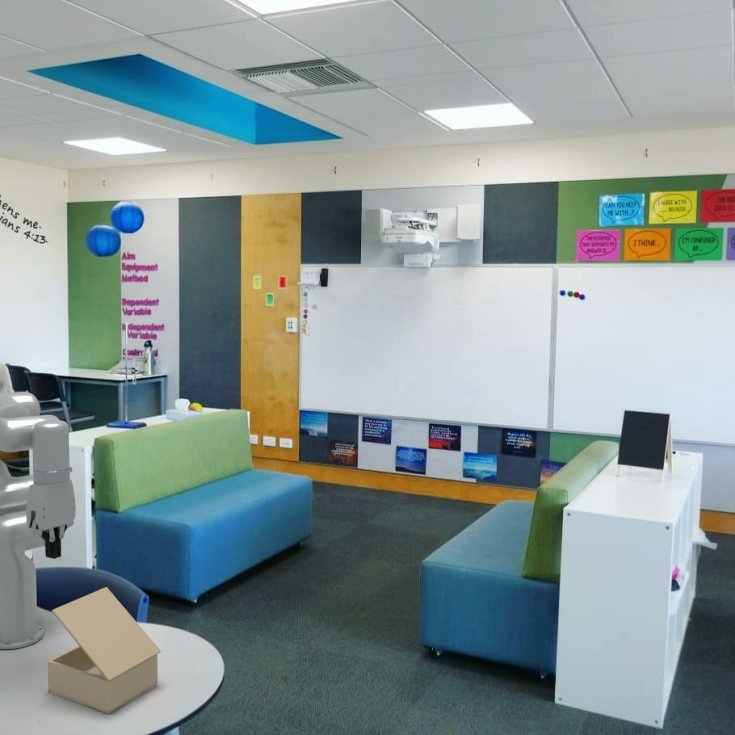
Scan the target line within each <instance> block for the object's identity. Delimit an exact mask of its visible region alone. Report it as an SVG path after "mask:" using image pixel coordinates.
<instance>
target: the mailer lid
mask: <svg viewBox="0 0 735 735" xmlns="http://www.w3.org/2000/svg"><path fill="white" fill-rule="evenodd" d="M51 613H52V614H53V615H54V617H56V619H57V620H58V621H59V622H60V624H61V625H62V626H63V628H64V629H65V630H66V631H67V632H68V634H69V635H70V636H71V637H72V639H73V640H74V642H76V643H77V645H78V646H80V647H81V649H82V650H83V651H84V652H85V654H86V655H87V656H88V657H89V659H90V660H91V661H92V662H93V663H94V665H95V666H96V667H97V668H98V670H99V671H100V672H101V673H102V675H103V676H104V677H105V678H106V680H107V681H108V682H109V681H111V680H113V679H114V678H116V677H118V676H120V675H121V674H123V673H125V672H127V671H128V670H130V669H132V668H134V667H135V666H137V665H139V664H141V663H142V662H144V661H146V660H148V659H149V658H151V657H153V656H155V655H157V656H158V654H160V653H161V651H162V650H161V649H160V648H159V647H158V645H157V644H156V643H155V642H154V641H153V640H152V639H151V637H150V635H148V634H147V633H146V632H145V630H144V629H143V628H142V627H141V625H140V624H139V623H138V622H137V621H136V620H135V619H134V617H133V616H132V615H131V614H130V613H129V612H128V610H127V609H126V608H125V607H124V606H123V605H122V603H121V602H120V601H119V600H118V599H117V598H116V596H115V595H114V594H113V592H112V591H111V590H110V589H109V588H108V586H107V587H103V588H101V589H98V590H96V591H93V592H92V593H89V594H87V595H85V596H82V597H80V598H77V599H75V600H72V601H70V602H68V603H66V604H63V605H61V606H58V607H56V608H54V609H52V610H51Z"/></svg>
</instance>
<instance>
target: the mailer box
mask: <svg viewBox="0 0 735 735" xmlns="http://www.w3.org/2000/svg"><path fill="white" fill-rule="evenodd" d="M158 677H159V676H158V654H157V655H155V656H153V657H151V658H149V659H148V660H146V661H144V662H142V663H141V664H139V665H137V666H135V667H134V668H132V669H130V670H128V671H127V672H125V673H123V674H121V675H120V676H118V677H116V678H114V679H113V680H111V681H109V682H108V681H107V680H106V678H105V677H104V676H103V675H102V673H101V672H100V671H99V670H98V668H97V667H96V666H95V665H94V663H93V662H92V661H91V660H90V659H89V657H88V656H87V655H86V654H85V652H84V651H83V650H82V649H81V647H80V646H79V645H78V646H75V647H73V648H72V649H69V650H68V651H66V652H63V653H62V654H59V655H57V656H56V657H53V658H51V659H49V660H47V680H48V681H47V684H48V685H47V686H48V688H47V689H48V693H50V694H53V695H55V696H58V697H60V698H63V699H66V700H69V701H72V702H75V703H77V704H79V705H82V706H85V707H88V708H90V707H91V709H94V710H96V711H98V712H102V713H105V714H107V715H111V714H113V713H115V712H116V711H117V710H119V709H121V708H123V707H124V706H126V705H127V704H129V703H131V702H132V701H134V700H135V699H138V697H141V696H142V695H143V694H145V693H147V692H148V691H150V690H151V689H153V688H155V687H157V686H158V685H159V684H158Z"/></svg>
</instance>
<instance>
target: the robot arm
mask: <svg viewBox="0 0 735 735" xmlns="http://www.w3.org/2000/svg"><path fill="white" fill-rule="evenodd" d="M40 407H41V406H40V403H39V400H38V399H37V397H36V396H35V395H34V394H32V393H30V392H28V391H16V392H15V391H14V392H4V393H3V392H2V393H0V451H1V452H4V453H5V452H6V453H15V452H16V453H17V452H21V451H22V452H24V451H31V450H32V474H31V475H24V476H12V475H11V473H10V472H9V469H8V466H7V465H6V463H5V462H4V461H3V460H1V459H0V650H13V649H14V650H15V649H21V648H25V647H28V646H31V645H33V644H35V643H37V642H38V641H40V640H41V639H42V638H43V637H44V635H45V628H44V627H42V626H41V625H40V624H38V610H37V609H38V608H37V607H38V606H37V602H38V601H37V571H36V570H37V569H36V564H35V563H34V560H32V559H31V558H30V557H29V556H27V555H26V554H25V552H27V551H29V550H34V549H37V548H42V547H44V551H45V558H50V559H53V560H56V559H57V558H59V559H60V558H61V557H62V540H63V539H64V537H65V534H66V531H67V529H69V528H71V527H72V526H73V525H74V524H75V522H74V521H75V519H76V515H77V514H76V513H77V510H76V496H75V495H76V494H75V490H74V489H75V488H74V485H73V481H72V479H71V473H72V472H73V468H72V466H70V427H69V424H68V423H67V422H66V421H64V420H60V418H59V417H57V416H56V415H52V414H44V415H43V414H42V415H40V414H41V408H40Z"/></svg>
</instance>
